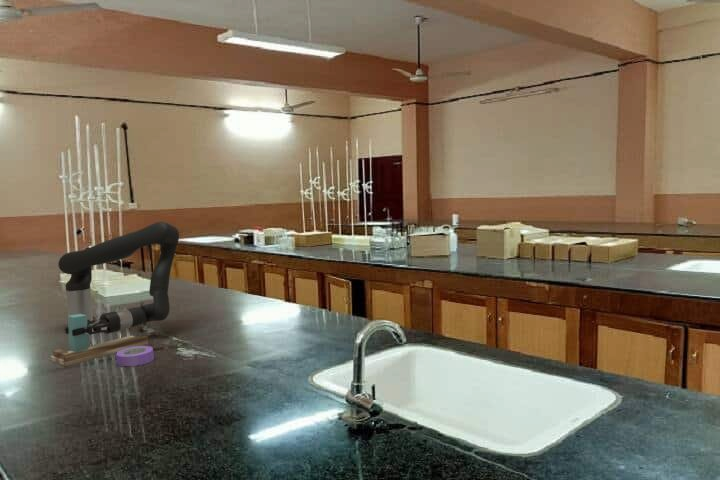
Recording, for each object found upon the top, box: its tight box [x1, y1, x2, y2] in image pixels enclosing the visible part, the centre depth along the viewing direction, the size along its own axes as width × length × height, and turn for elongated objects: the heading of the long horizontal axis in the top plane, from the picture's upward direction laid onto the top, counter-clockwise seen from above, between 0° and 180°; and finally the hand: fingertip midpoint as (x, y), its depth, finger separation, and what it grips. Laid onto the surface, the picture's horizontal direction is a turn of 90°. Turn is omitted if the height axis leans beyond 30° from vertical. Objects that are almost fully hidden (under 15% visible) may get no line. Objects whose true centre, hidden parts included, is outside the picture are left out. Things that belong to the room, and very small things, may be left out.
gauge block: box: [67, 314, 89, 352], centre depth 189 cm, size 4×4×12 cm
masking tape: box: [115, 345, 155, 367], centre depth 184 cm, size 12×12×4 cm
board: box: [49, 335, 149, 367], centre depth 195 cm, size 12×30×4 cm, turn 143°
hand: (69, 332), depth 186 cm, fingers closed on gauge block, 4 cm apart
